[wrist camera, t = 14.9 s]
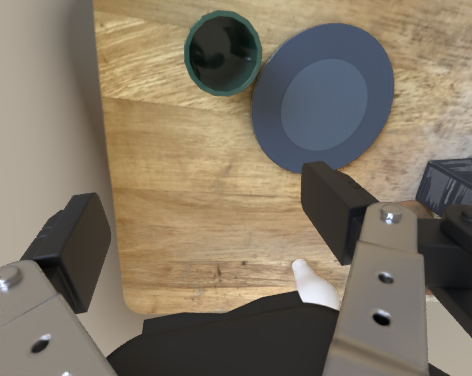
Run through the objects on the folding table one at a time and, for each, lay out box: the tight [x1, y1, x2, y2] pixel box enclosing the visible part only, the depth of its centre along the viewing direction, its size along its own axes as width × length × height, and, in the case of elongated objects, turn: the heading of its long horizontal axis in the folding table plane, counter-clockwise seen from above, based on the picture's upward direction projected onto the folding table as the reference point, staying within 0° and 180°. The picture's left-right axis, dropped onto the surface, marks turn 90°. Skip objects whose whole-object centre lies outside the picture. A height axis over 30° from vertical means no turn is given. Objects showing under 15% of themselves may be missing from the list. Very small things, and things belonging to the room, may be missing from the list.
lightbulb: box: [292, 259, 339, 310], centre depth 44 cm, size 6×6×11 cm
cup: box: [184, 10, 262, 96], centre depth 28 cm, size 6×6×9 cm
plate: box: [251, 23, 394, 174], centre depth 36 cm, size 18×18×1 cm
